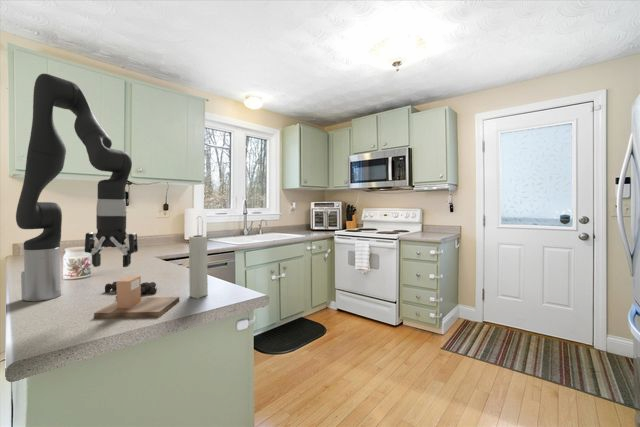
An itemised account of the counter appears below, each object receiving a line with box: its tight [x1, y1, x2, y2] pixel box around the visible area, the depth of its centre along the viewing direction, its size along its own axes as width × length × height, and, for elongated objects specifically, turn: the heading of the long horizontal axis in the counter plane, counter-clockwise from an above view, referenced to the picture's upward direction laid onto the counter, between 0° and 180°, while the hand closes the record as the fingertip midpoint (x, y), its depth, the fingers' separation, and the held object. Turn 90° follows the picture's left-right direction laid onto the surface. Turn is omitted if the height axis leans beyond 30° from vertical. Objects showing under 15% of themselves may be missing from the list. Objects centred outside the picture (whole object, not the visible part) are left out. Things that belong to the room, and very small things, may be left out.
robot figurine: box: [104, 280, 158, 300], centre depth 111 cm, size 18×4×20 cm
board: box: [93, 296, 180, 319], centre depth 92 cm, size 18×14×2 cm
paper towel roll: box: [188, 234, 209, 299], centre depth 106 cm, size 7×6×21 cm
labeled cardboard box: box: [116, 275, 142, 308], centre depth 92 cm, size 4×6×8 cm, turn 3°
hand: (111, 266), depth 92 cm, fingers open, 8 cm apart
